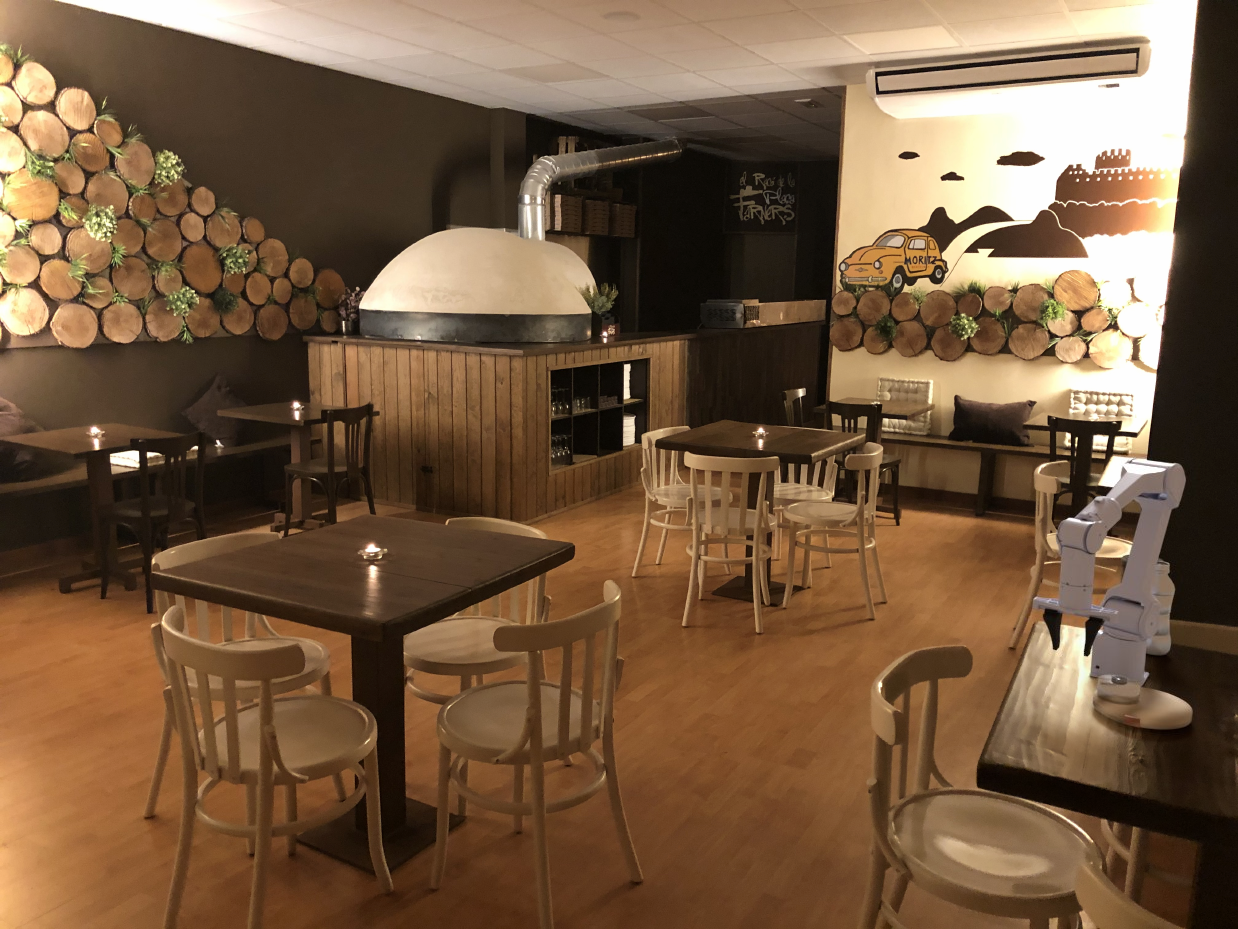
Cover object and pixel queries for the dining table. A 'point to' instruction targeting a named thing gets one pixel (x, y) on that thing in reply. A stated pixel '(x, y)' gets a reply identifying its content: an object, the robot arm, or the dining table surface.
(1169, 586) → the plastic bottle
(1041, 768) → the dining table surface
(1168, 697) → the turntable
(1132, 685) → the cover
